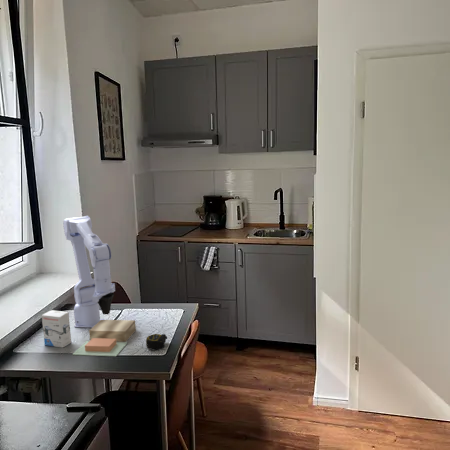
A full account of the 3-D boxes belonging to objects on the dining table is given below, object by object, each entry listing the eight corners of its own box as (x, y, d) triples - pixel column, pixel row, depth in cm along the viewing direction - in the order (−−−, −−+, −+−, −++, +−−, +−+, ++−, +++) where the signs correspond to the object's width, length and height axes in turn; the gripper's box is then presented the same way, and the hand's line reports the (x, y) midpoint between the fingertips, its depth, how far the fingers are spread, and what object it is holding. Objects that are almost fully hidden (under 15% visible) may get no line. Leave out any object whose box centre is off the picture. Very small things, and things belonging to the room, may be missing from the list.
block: (92, 338, 151) (93, 343, 151) (84, 345, 145) (85, 351, 145) (116, 338, 149) (116, 343, 150) (108, 346, 144) (109, 351, 144)
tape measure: (164, 351, 143) (163, 341, 143) (144, 351, 144) (143, 341, 143) (167, 342, 150) (166, 332, 150) (148, 342, 151) (148, 333, 150)
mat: (72, 354, 144) (72, 354, 144) (86, 341, 153) (86, 341, 153) (116, 356, 141) (116, 355, 141) (127, 343, 151) (127, 342, 151)
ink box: (44, 345, 152) (40, 315, 150) (53, 339, 157) (50, 309, 155) (63, 348, 149) (59, 317, 147) (72, 341, 154) (69, 311, 152)
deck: (90, 340, 154) (89, 330, 154) (102, 329, 164) (101, 319, 163) (125, 341, 152) (124, 331, 151) (135, 330, 162) (135, 320, 161)
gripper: (104, 284, 142) (108, 321, 145) (121, 272, 156) (124, 306, 159) (85, 284, 143) (89, 321, 146) (103, 272, 157) (107, 306, 160)
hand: (106, 313), depth 152 cm, fingers closed
